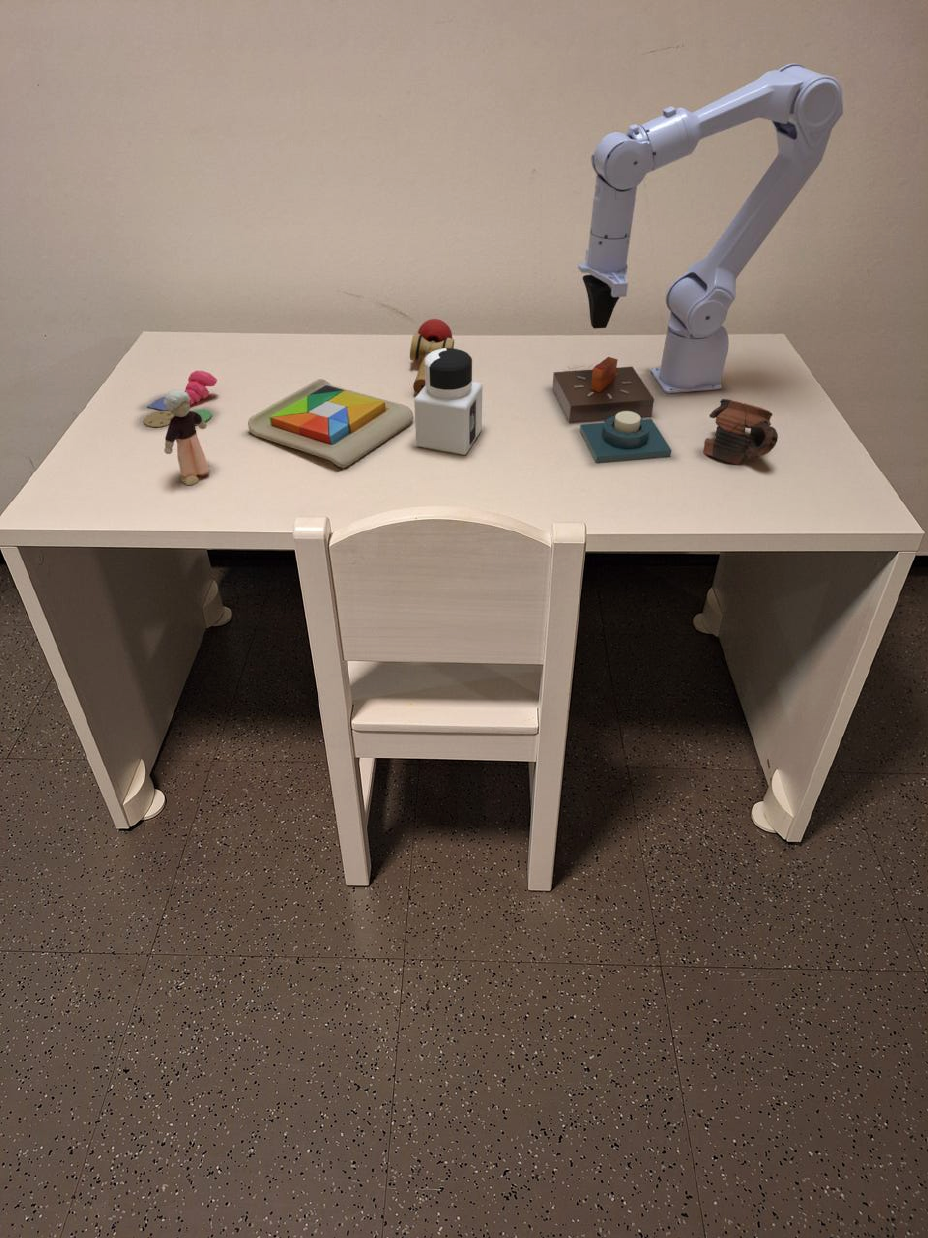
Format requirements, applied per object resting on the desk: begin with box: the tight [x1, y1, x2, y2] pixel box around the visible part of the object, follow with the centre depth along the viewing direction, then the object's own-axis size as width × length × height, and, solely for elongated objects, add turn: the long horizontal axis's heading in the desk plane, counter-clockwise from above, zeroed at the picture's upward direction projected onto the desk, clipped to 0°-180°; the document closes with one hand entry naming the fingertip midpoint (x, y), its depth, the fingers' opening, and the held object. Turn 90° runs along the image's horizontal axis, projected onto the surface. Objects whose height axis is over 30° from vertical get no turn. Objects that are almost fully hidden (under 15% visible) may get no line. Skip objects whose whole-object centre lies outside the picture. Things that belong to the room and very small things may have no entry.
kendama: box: [409, 318, 455, 395], centre depth 134 cm, size 8×6×18 cm
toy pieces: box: [142, 370, 218, 428], centre depth 125 cm, size 12×11×4 cm
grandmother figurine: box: [163, 389, 211, 486], centre depth 109 cm, size 8×4×13 cm, turn 164°
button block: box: [579, 415, 672, 464], centre depth 118 cm, size 11×9×3 cm
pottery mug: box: [702, 398, 779, 466], centre depth 116 cm, size 12×10×8 cm
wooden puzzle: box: [247, 378, 414, 469], centre depth 121 cm, size 18×19×4 cm
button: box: [614, 411, 642, 434], centre depth 116 cm, size 4×4×2 cm
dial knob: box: [591, 356, 618, 392], centre depth 124 cm, size 5×2×4 cm, turn 144°
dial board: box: [551, 366, 655, 424], centre depth 127 cm, size 13×11×3 cm
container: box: [413, 348, 483, 456], centre depth 116 cm, size 8×8×13 cm
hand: (598, 326), depth 124 cm, fingers closed
